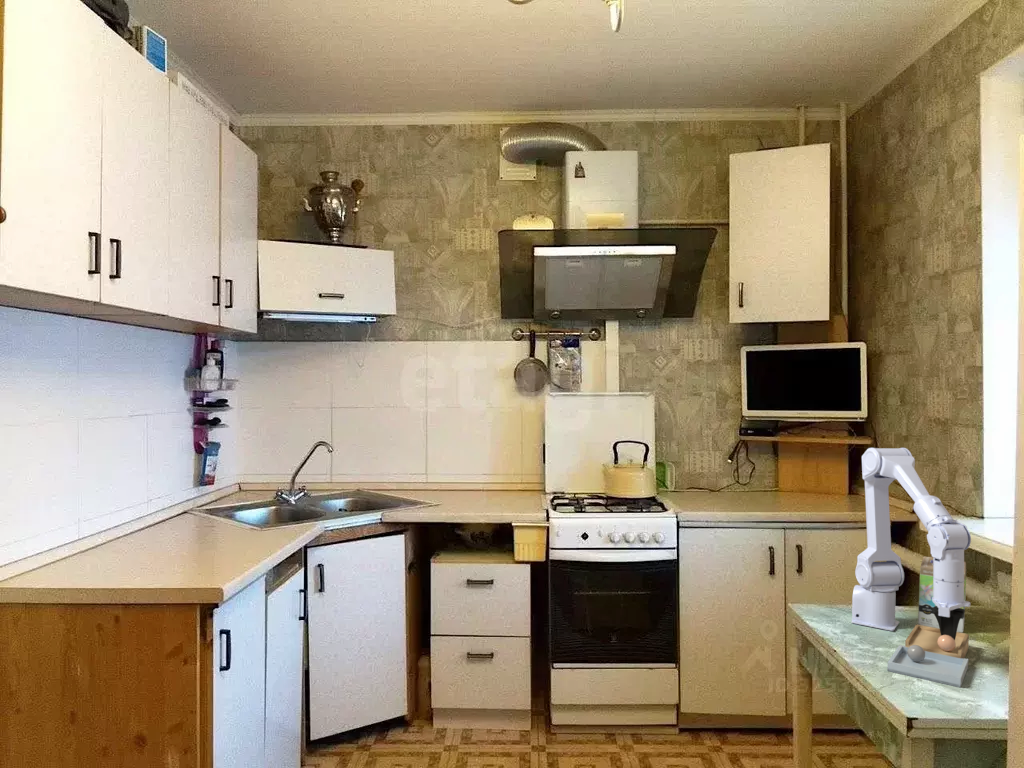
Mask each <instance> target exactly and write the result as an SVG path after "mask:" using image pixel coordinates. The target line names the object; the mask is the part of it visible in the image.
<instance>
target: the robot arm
mask: <svg viewBox="0 0 1024 768" xmlns="http://www.w3.org/2000/svg"><path fill="white" fill-rule="evenodd" d="M915 466H916V458H914V456H913V455H912V453H911V451H910V450H909V449H908V448H906V447H900V448H898V447H897V448H896V447H895V448H891V447H890V448H889V447H888V448H887V447H885V448H884V447H883V448H882V447H881V448H878V447H868V448H867V449H866V450H865V451H864V453H863V454H862V455H861V471H862V472H861V474H862V480H863V481H864V495H865V496H864V497H865V498H864V499H865V520H866V522H865V524H866V542H867V547H866V548H865V550H863V551H861V552H860V553H859V554H858V555H857V563H856V567H855V570H854V571H855V577H856V580H857V583H858V584H855V585H854V587H853V591H852V596H851V597H852V600H851V601H852V604H851V605H852V607H851V623H852V624H856V625H860V626H865V627H871V628H874V629H875V628H876V629H881V630H884V631H885V630H886V631H891V632H894V631H895V630H896V628H897V627H898V626H899V624H900V621H899V620H896V601H897V600H896V599H897V598H896V595H897V594H896V591H899V587H901V586H902V585H903V584H904V581H905V572H904V568H903V565H902V560H901V559H902V558H901V557H900V555H899V554H897V553H896V552H895V551H894V550H893V549H892V537H891V518H890V517H891V516H890V515H891V514H890V494H889V486H890V485H891V484H892V483H893V482H894V481H895V480H897V482H898V483H899V484H900V485H901V487H902V488H903V489H904V490H905V492H906V493H907V494H908V495H909V497H910V498H911V499H912V501H913V502H914V504H913V511H914V513H915V514H916V515H917V517H918V519H919V520H920V522H921V523H922V525H923V526H924V528H925V529H926V531H927V534H926V539H927V540H926V541H927V543H928V545H929V548H930V555H931V557H933V597H932V601H933V603H934V604H935V605H936V606H935V607H933V613H934V615H935V617H936V619H937V621H938V624H939V628H940V633H941V635H949V636H951V637H952V638H953V639H954V640H955V638H956V633H957V628H958V624H959V621H960V619H961V617H962V616H963V614H964V609H962V608H961V607H964V606H965V608H966V607H968V608H970V607H971V602H970V601H967V600H965V601H964V562H965V550H967V549H969V548H970V546H971V542H972V536H971V532H970V530H969V529H968V526H967V525H966V524H964V523H962V522H959V521H958V520H957V519H954V518H953V517H952V515H951V514H950V513H949V511H948V509H946V507H945V506H944V504H943V503H942V500H941V499H940V498H939V497H938V496H936V495H930V493H929V492H928V489H927V488H926V487H925V484H924V483H923V481H922V479H921V478H920V476H919V474H918V473H917V471H916V469H915V468H916V467H915Z"/></svg>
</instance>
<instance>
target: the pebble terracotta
mask: <svg viewBox="0 0 1024 768" xmlns="http://www.w3.org/2000/svg"><path fill="white" fill-rule="evenodd" d="M937 643H938V646H939V647H940V648H941V649H942V650H944V651H952V650H954V649H955V646H956V643H955V640H954V639H953V638H952V637H951V636H949V635H941V636H940V637H939V638H938V641H937Z"/></svg>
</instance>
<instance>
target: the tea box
mask: <svg viewBox="0 0 1024 768" xmlns="http://www.w3.org/2000/svg"><path fill="white" fill-rule="evenodd" d="M918 588H919V590H918V610H917V611H918V612H917V613H918V614H917V615H918V616H917V625H923V626H928V627H933V628H938V629H940V628H939V624H938V621H937V619H936V617H935V615H934V613H933V607H935V606H936V605H935V604H934V603H933V601H932V597H933V557H932V556H923V557H922V561H921V564H920V568H919V587H918ZM966 590H967V562H966V561H964V601H966V594H967V593H966V592H967V591H966ZM961 608H962V609H964V614H963V616H962V617H961V619H960V621H959V624H958V628H957V632H959V633H964V630H965V629H964V627H965V616H966V615H965V614H966V613H965V612H966V606H964V607H961Z"/></svg>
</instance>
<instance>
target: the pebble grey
mask: <svg viewBox="0 0 1024 768" xmlns="http://www.w3.org/2000/svg"><path fill="white" fill-rule="evenodd" d="M907 654H908V656H909V658H910V659H911V660H913V661H915V662H921V661H923V660H924V658H925V651H924V649H923V648H922V647H920V646H918V645H912V646H910V647H909V648H908V650H907Z"/></svg>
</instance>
